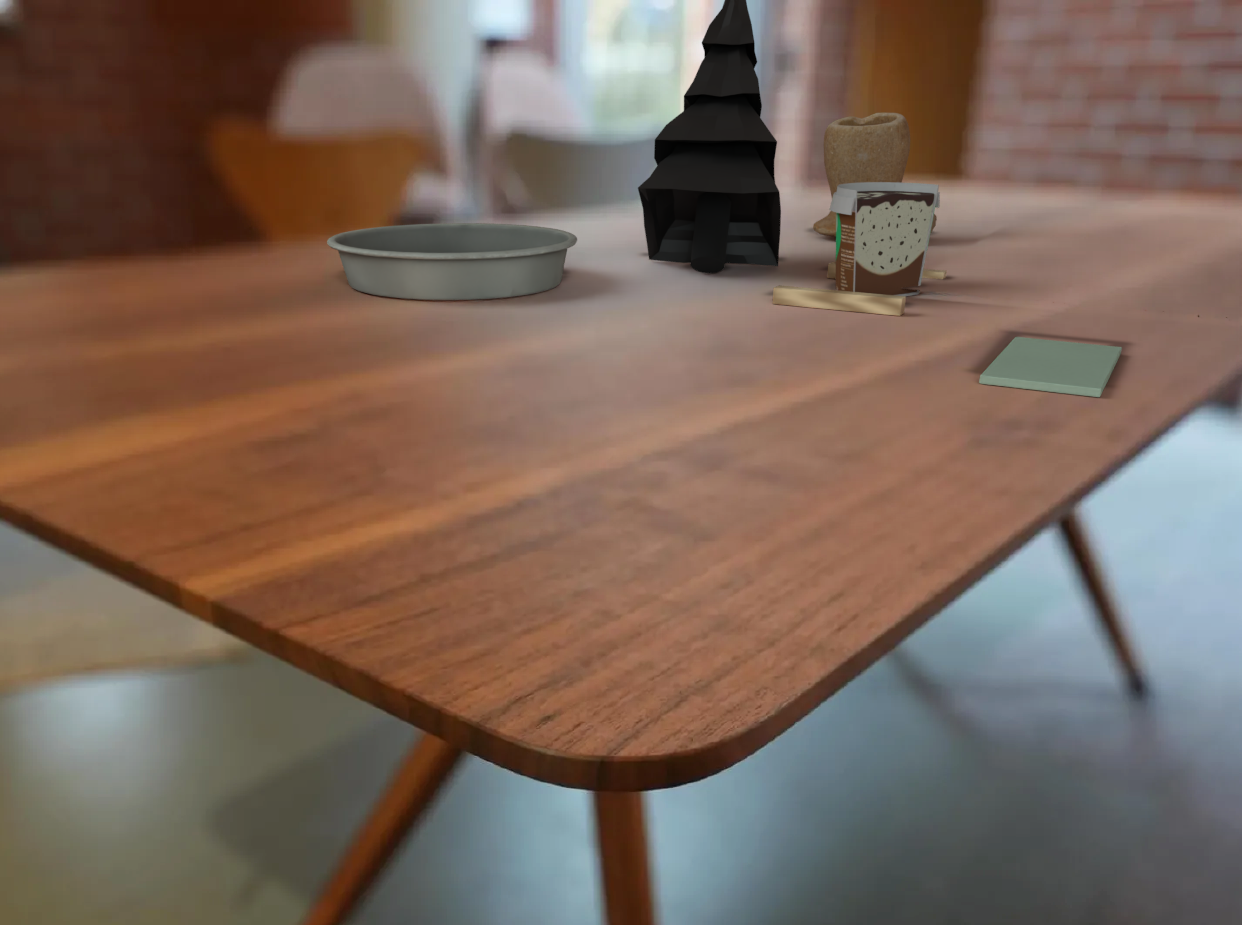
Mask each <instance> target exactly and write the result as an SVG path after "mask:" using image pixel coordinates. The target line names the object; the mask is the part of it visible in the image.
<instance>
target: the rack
mask: <svg viewBox="0 0 1242 925" xmlns="http://www.w3.org/2000/svg"><path fill="white" fill-rule="evenodd" d="M947 273H948V271H947V270H945V269H933V268H924V270H923V275H922V279H932V280H933V279H934V280H935V279H936V280H944V279H946V278H947ZM826 279H833V280H836V261H831V262H828V263H827V273H826ZM906 300H907V296H895V295H883V294H872V293H861V292H849V291H838V290H835V289H826V288H813V287H801V286H791V285H780V284H779V285H777V286H774V287H773V290H772V305H779V306H780V305H781V306H789V307H800V308H809V309H811V308H813V309H821V310H833V311H842V312H853V313H863V314H874V315H875V314H876V315H885V316H897V317H901V316H903V315H904V314H905V309H906Z"/></svg>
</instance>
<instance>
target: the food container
mask: <svg viewBox="0 0 1242 925" xmlns="http://www.w3.org/2000/svg"><path fill="white" fill-rule="evenodd" d="M939 188H940V185H939V184H936V183H935V184H934V183H923V182H922V183H921V182H920V183H919V182H902V183H899V182H863V183H847V184H841V185H838V186H837V192H835V193H834V194H833V198H832V197H831V202H830V206H829V209H828V210H829V212H830V211H833V212H836V236H835V262H836V279H835V284H834V285H835V287H834V288H835V289H834V290H838V291H849V292H861V293H872V294H883V295H895V296H905V297H909V296H910V297H911V296H917V295H920V292H921V291H920V289H915V288H914V289H913V288H911V287H918V286H919V287H920V286H921V285H922V280H923V278H922V275H923V270H924V269H925V264H926V258H927V253H928V248H929V243H930V238H931V233H930V232H931V227H932V222H933V216H934V214H935V210H936V208H937V209H938V208H939V209H940V207H941V194H940V193H941V192H940V191H939Z"/></svg>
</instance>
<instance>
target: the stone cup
mask: <svg viewBox="0 0 1242 925" xmlns="http://www.w3.org/2000/svg"><path fill="white" fill-rule="evenodd" d="M910 150H911V131H910V126H909V122H908V120H907V118H906V117H905V116H904V115H903V114H901V113H898V112H875V113H873V114H870V115H868V116H864V117H862V118H861V117H857V116H845V117H842V118H839V119H836V120H834V121H832V122H830V124H828V126H827V127H826V129H825V131H824V135H823V164H824V169H825V175H826V178H827V183H828V186H829V191H830V194H831V199H832V198H833V194H834V193H835V192H837V186H838V185H841V184H847V183H863V182H899V183H903V180H904V179H903V178H904V175H905V172H906V169H907V165H908V160H909V155H910ZM937 217H938V216H937V215H936V214H935V213H934V216H933V222H932V227H931V232H930V234H932V233H933V231H934V229H935V227H936V224H937V219H938V218H937ZM812 229H813V231H814V232H816V233H818V234H819V235H823V236H827V237H828V236H829V237H836V212H833V211H830V210H829V213H827V215H826V216H824V217H822V218H820V219H819V220H817V221H816V222H814V223H813V225H812Z"/></svg>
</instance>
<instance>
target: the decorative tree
mask: <svg viewBox="0 0 1242 925" xmlns="http://www.w3.org/2000/svg"><path fill="white" fill-rule="evenodd" d="M754 36H755V35H754V30H753V25H752V20H751V17H750V13H749V8H748V4H747V0H724V1H723V4H722V7H721V9H720V10H719V11H718V13H717V15H716V16H715V17H714V18H713V20H712V21H711V22H710V24H708V27H707V30H706V31H705V34H704V37H703V38H702V41H701V45H702V48H703V51H704V58H703V60H701V63H700V65H699V67H698V69H697V72H696V74H695V76H694V78H693V80H692V82H691V83H690V86H689V87H688V88H687V90H686V92H685V93H684V95H683V111H682V112H681V113H679V114H678V115H677V116H675V117H674V118H673V119H672V120H670V121H669V122H668V123H666V124H665V126H664V127H663V128H662V130H661V131H660V132H659V133H658V135H657V136H656V137H655V139H654V147H653V148H654V151H653V152H654V153H653V155H654V156H653V158H654V161H655V163H656V167H655V168H654V170H653V171H652V173H651V174H650V175H649V177H648V178H646V179H645V180H644V181H643V182H642V183H641V184H640V185H639V186H638V187H637V191H638V194H639V199H640V203H641V207H642V216H643V228H644V233H645V240H646V245H647V246H646V248H647V254H648V255H647V256H648V260H650V261H660V262H669V263H679V264H690V267H691V268H692V270H694V271H696V272H698V273H703V274H717V273H719V272H722V271H723V270H724V269H725V266H726V264H736V265H738V264H739V265H740V264H741V265H756V266H770V267H779V259H780V258H779V256H780V254H779V253H780V242H781V224H782V223H781V220H782V206H781V195H780V190H779V188H778V186H777V184H776V177H775V158H776V153H777V147H778V146H777V145H778V141H777V139H776V138H775V136H774V135H773V134H772V133H771V131H770V129H768V127H767V125H766V124H765V122H764V121H763V120H762V118H761V116H762V115H761V114H762V107H763V104H762V98H761V91H760V83H759V82H760V81H759V78H758V75H757V72H756V70H755V68H756V66H757V64H758V59H757V54H756V50H755V37H754Z"/></svg>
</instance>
